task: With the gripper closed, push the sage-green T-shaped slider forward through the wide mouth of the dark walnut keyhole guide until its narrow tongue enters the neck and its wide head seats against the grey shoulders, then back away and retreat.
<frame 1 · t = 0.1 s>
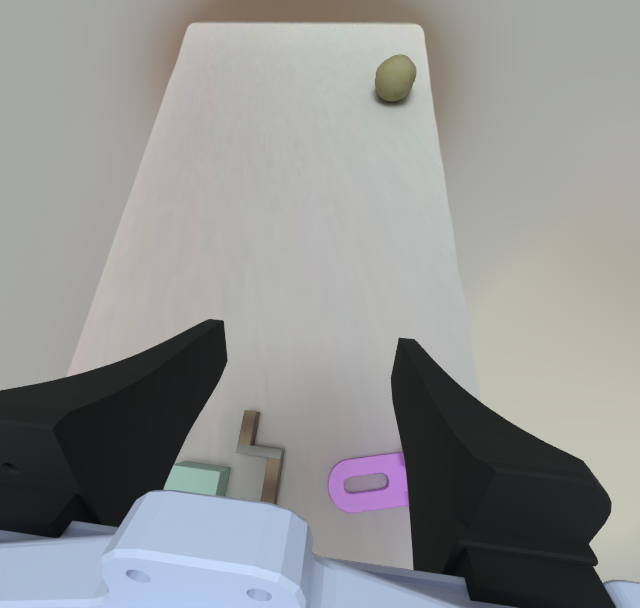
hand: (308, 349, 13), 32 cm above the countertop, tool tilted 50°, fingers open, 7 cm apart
bracket: (379, 479, 39), on the countertop
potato: (391, 99, 66), on the countertop
keyhole guide: (211, 447, 41), on the countertop
t slider: (194, 524, 38), on the countertop
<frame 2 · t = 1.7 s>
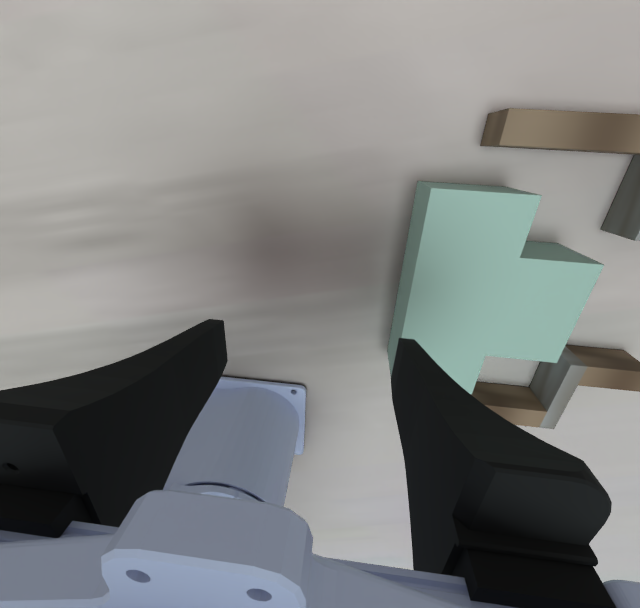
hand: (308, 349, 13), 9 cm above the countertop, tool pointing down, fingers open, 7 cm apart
keyhole guide: (572, 291, 20), on the countertop
t slider: (438, 279, 21), on the countertop
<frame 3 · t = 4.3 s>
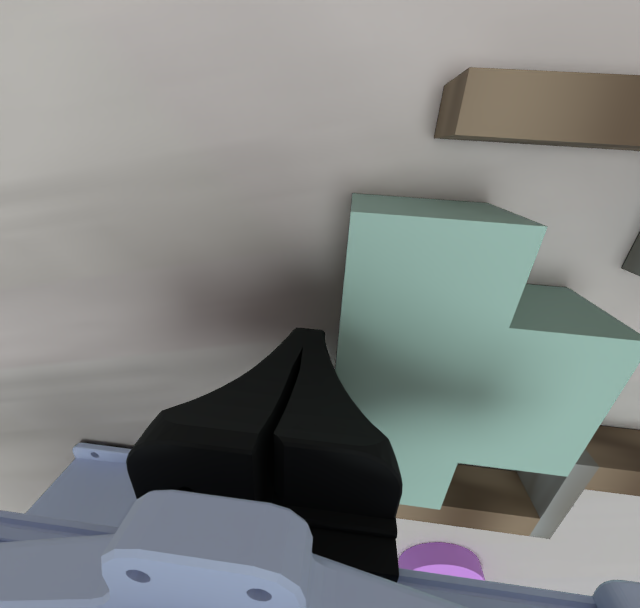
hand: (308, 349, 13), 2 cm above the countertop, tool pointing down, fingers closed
bracket: (438, 585, 24), on the countertop
keyhole guide: (577, 353, 14), on the countertop
t slider: (393, 334, 14), on the countertop, touching gripper
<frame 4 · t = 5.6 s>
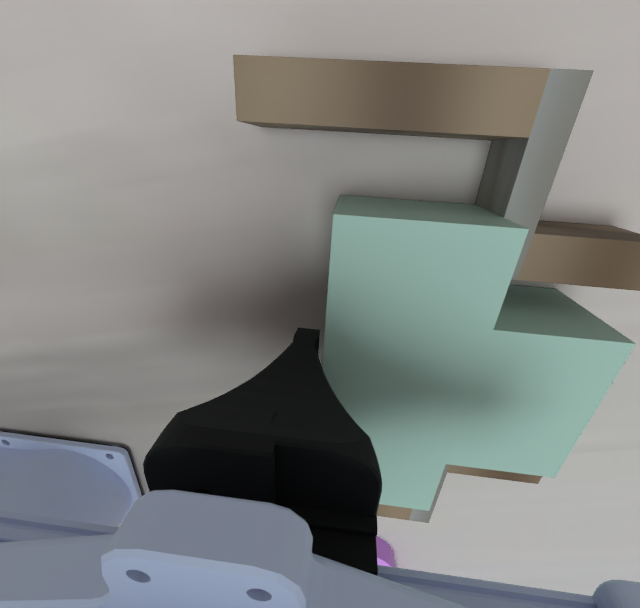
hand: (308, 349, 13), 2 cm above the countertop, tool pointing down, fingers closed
bracket: (360, 574, 25), on the countertop
keyhole guide: (438, 339, 14), on the countertop
t slider: (383, 335, 14), on the countertop, touching gripper, keyhole guide
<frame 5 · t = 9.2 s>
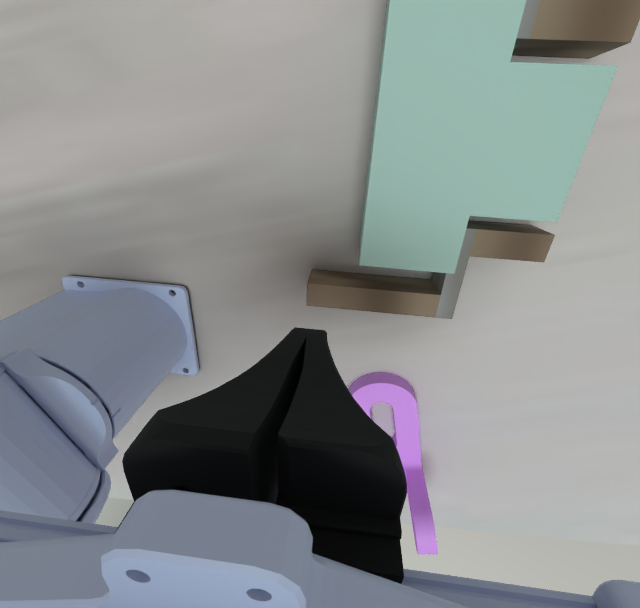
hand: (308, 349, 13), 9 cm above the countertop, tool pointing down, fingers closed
bracket: (384, 428, 28), on the countertop
keyhole guide: (462, 144, 17), on the countertop
t slider: (415, 144, 18), on the countertop
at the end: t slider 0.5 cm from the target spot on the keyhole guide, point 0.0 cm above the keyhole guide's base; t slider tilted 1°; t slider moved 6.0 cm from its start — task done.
